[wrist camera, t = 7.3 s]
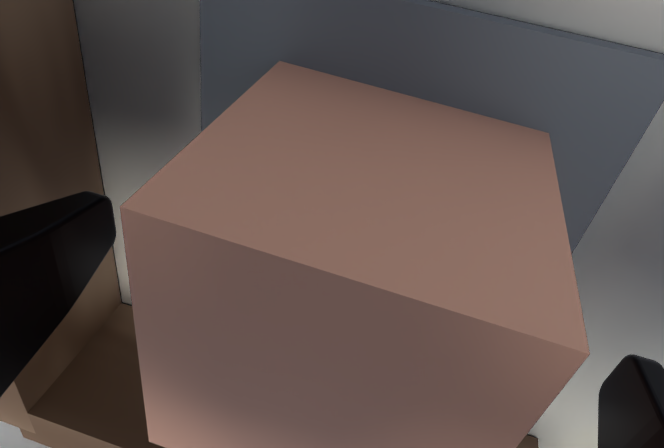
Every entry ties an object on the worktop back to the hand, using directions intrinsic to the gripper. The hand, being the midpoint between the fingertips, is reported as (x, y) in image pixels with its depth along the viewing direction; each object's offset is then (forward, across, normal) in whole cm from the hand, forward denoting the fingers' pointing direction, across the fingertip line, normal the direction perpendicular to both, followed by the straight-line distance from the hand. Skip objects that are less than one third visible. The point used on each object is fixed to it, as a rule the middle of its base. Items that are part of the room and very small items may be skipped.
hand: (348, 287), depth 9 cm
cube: (+3, 0, 0) cm, 3 cm away
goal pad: (+3, 0, 0) cm, 3 cm away
